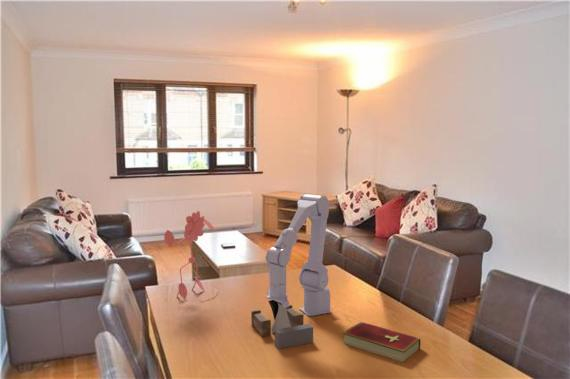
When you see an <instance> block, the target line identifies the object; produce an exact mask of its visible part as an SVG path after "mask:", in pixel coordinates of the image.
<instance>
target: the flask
mask: <svg viewBox="0 0 570 379" xmlns="http://www.w3.org/2000/svg"><path fill="white" fill-rule="evenodd" d="M278 305H279V308H278V313H277V316H276V318H275V320H273V324H271V333H273V334H275V330H277V329H282V328H288V327H292V326H291V324H290V321H289V318H288V315H287V310H286V308H283V307H282V304H280V303H279V302H278Z"/></svg>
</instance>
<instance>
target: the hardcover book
mask: <svg viewBox="0 0 570 379" xmlns="http://www.w3.org/2000/svg"><path fill="white" fill-rule="evenodd" d="M341 333H342V334H343V343H344V344H345V345H349V346H352V347H354V348H357V349H361V350H364V351H367V352H370V353H374V354H377V355H381V356H383V357H386V358H389V359H393V360H395V361H397V362H402V363H404V361H406V360H407V359H408V358H409V357H411V356H412V355H413V354H414V353H416V352H417V351H418V350H421V338H420V337H417V336H413V335H410V334H405V333H403V332H402V333H401V332H399V331H395V330H391V329H388V328H384V327H382V326H381V327H380V326H377V325H374V324H370V323H366V322H363V321H359V322H358V323H356V324H354V325H353V326H351V327H349V328H347V329H346V330H345V331H343V332H341Z"/></svg>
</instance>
